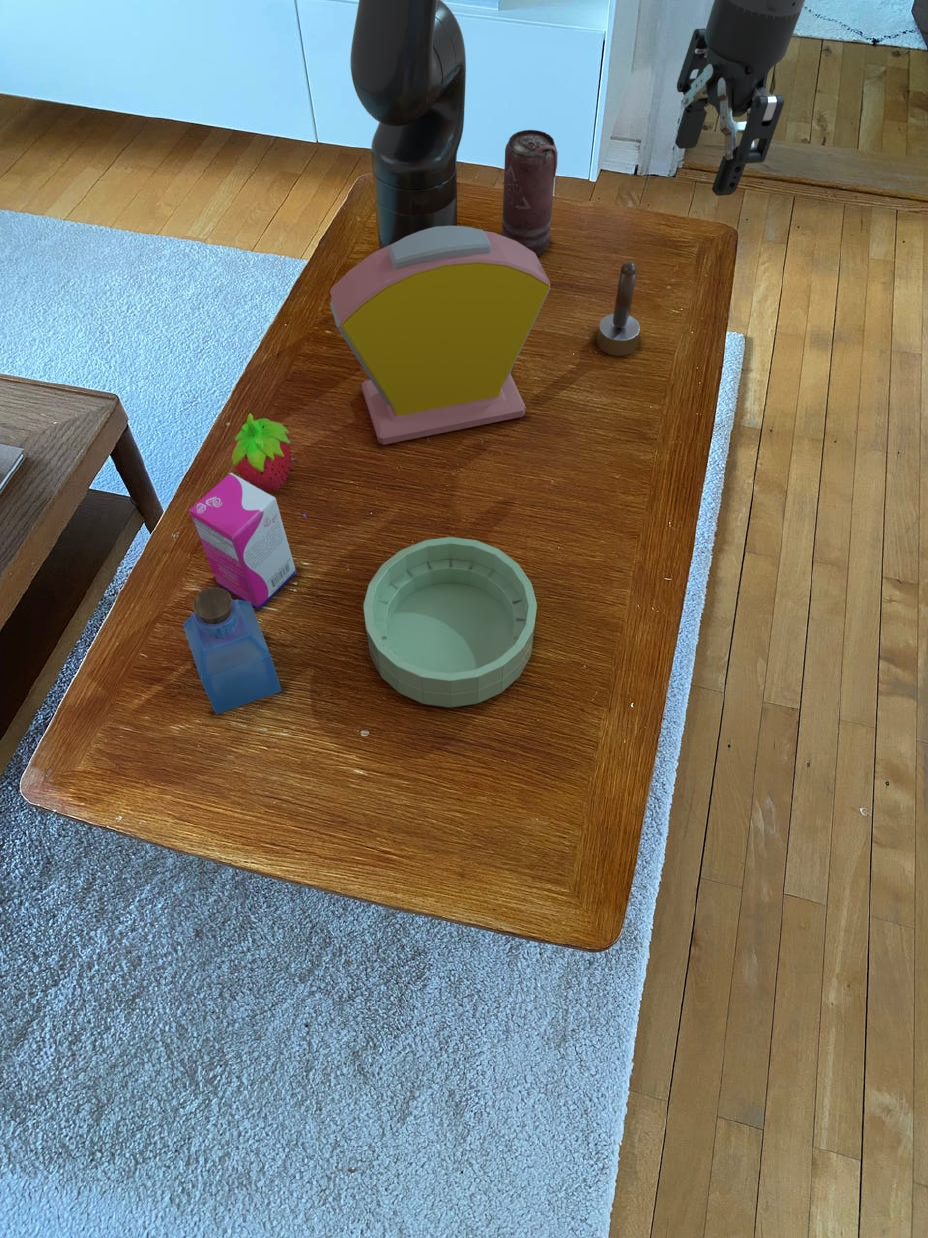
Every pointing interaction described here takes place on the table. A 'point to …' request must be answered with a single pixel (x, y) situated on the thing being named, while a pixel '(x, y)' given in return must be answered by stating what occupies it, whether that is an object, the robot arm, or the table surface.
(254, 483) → the strawberry
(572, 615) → the table surface
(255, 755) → the table surface
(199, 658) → the perfume bottle
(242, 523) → the supplement box
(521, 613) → the bowl
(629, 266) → the peg on round base
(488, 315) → the pink and yellow fan
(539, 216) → the can
